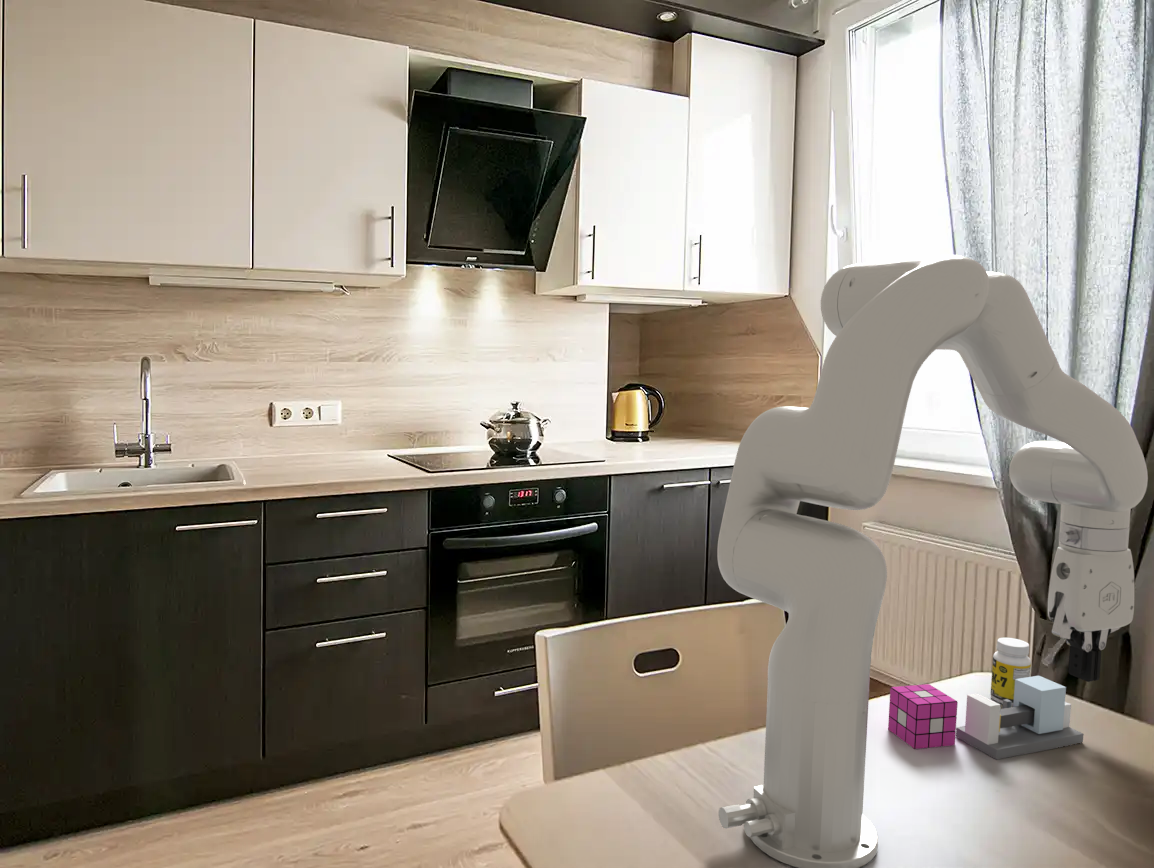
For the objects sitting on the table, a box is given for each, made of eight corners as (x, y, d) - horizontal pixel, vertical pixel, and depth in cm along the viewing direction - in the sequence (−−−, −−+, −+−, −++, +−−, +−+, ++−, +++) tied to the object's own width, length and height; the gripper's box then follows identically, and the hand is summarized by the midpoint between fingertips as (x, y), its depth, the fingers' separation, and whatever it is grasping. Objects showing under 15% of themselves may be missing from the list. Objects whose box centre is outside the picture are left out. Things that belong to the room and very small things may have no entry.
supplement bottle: (983, 693, 122) (987, 636, 122) (1014, 693, 123) (1018, 635, 122) (1003, 707, 118) (1007, 648, 117) (1035, 706, 118) (1040, 647, 117)
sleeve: (1038, 734, 106) (1041, 691, 106) (1012, 720, 110) (1015, 679, 109) (1062, 729, 107) (1066, 687, 107) (1035, 716, 111) (1038, 675, 111)
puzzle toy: (955, 745, 106) (958, 701, 105) (914, 750, 105) (917, 704, 104) (926, 726, 112) (929, 683, 111) (887, 729, 110) (889, 686, 110)
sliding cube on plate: (996, 759, 102) (999, 710, 102) (955, 736, 108) (958, 690, 108) (1082, 742, 107) (1086, 696, 107) (1039, 721, 113) (1042, 677, 113)
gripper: (1075, 548, 103) (1065, 696, 105) (1164, 539, 108) (1152, 680, 110) (1023, 535, 110) (1015, 674, 112) (1108, 527, 115) (1099, 660, 117)
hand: (1083, 677), depth 111 cm, fingers closed
